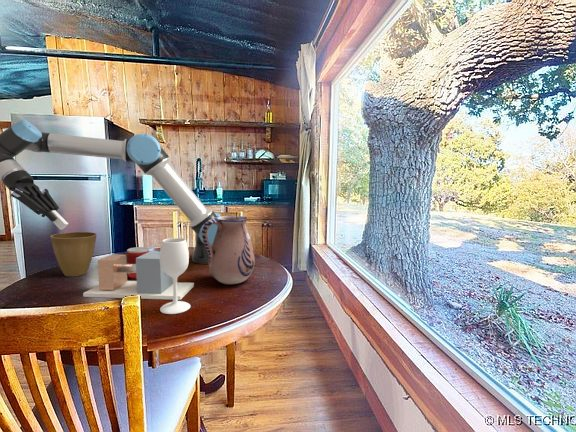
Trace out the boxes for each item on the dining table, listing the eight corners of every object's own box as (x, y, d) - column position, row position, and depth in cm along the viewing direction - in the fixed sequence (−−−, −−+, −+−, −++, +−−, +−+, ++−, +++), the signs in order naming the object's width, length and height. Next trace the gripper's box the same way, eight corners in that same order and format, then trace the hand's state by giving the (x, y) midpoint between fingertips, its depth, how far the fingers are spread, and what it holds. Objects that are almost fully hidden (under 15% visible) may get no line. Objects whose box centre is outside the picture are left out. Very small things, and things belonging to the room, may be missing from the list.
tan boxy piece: (168, 283, 107) (167, 255, 106) (157, 291, 99) (157, 261, 98) (113, 281, 108) (112, 254, 107) (99, 289, 100) (97, 260, 99)
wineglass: (164, 317, 85) (162, 244, 82) (156, 306, 92) (155, 239, 89) (194, 310, 90) (193, 241, 87) (185, 300, 97) (184, 236, 94)
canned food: (141, 279, 115) (140, 251, 114) (123, 278, 117) (122, 250, 116) (153, 273, 123) (153, 247, 121) (136, 272, 124) (135, 246, 123)
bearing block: (193, 286, 110) (193, 251, 108) (180, 299, 97) (179, 260, 96) (107, 283, 110) (106, 248, 109) (83, 296, 98) (81, 257, 96)
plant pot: (65, 282, 110) (62, 239, 109) (45, 275, 118) (42, 235, 116) (106, 272, 123) (104, 234, 122) (86, 266, 131) (84, 230, 129)
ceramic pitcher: (263, 279, 119) (264, 217, 116) (224, 295, 101) (224, 222, 99) (231, 271, 129) (232, 213, 126) (191, 284, 111) (190, 218, 108)
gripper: (24, 184, 109) (71, 231, 110) (-13, 184, 96) (41, 237, 97) (37, 169, 108) (84, 217, 110) (2, 168, 95) (56, 221, 97)
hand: (64, 226), depth 104 cm, fingers closed
